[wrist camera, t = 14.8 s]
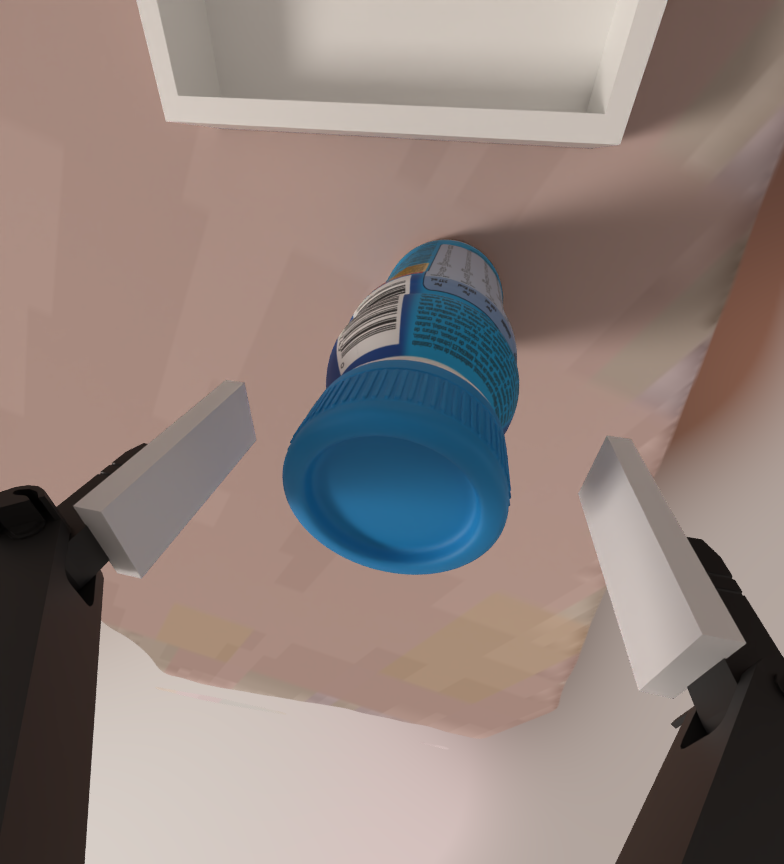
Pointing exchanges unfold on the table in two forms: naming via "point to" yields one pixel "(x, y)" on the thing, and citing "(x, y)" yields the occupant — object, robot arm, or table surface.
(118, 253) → the table surface
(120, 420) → the table surface
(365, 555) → the beverage bottle
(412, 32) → the tote
